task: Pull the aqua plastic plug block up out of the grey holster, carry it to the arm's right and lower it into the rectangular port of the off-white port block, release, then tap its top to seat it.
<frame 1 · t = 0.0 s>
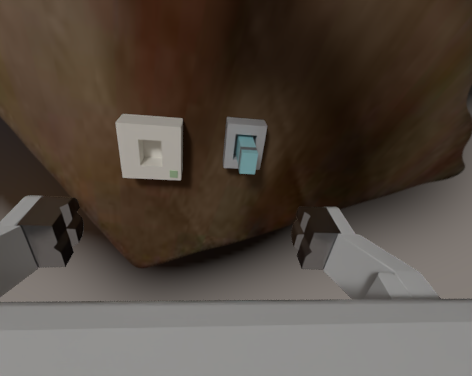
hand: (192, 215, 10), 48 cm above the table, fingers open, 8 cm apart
port block: (154, 143, 60), on the table
holster: (242, 140, 61), on the table
plug: (243, 142, 60), point 1 cm above the table, touching holster
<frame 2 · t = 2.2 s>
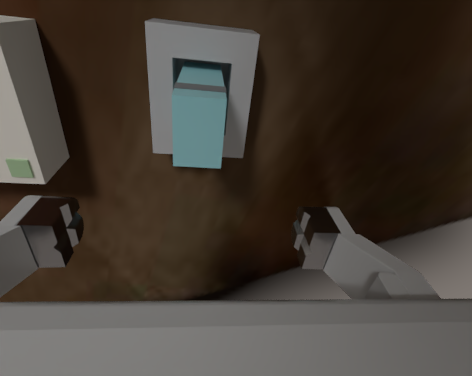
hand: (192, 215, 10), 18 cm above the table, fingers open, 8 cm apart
holster: (202, 87, 25), on the table
plug: (201, 89, 25), point 1 cm above the table, touching holster
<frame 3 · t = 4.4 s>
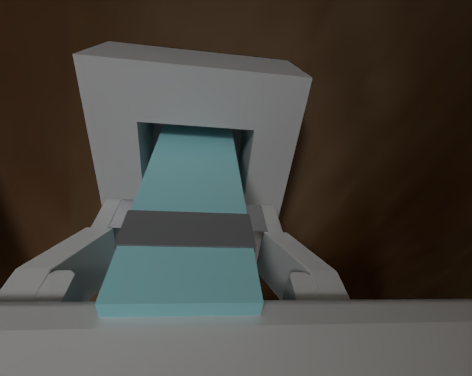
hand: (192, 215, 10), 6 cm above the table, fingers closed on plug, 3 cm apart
holster: (197, 151, 15), on the table
plug: (197, 158, 15), point 1 cm above the table, touching gripper, holster
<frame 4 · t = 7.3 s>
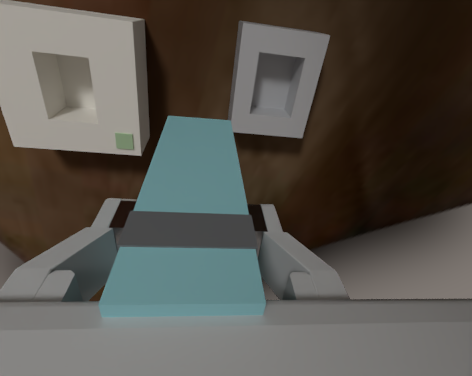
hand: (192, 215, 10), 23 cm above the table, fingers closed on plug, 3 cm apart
port block: (87, 77, 29), on the table
holster: (269, 78, 30), on the table
plug: (198, 158, 15), point 18 cm above the table, touching gripper
when the fingers open (7 cm above the table, at t = 10.6 s): plug stays where it is, resting on port block.
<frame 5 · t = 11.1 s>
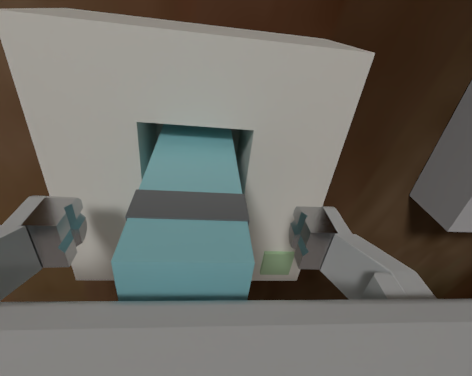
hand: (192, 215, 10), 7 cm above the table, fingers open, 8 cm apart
port block: (198, 142, 16), on the table
plug: (197, 150, 15), point 1 cm above the table, touching port block
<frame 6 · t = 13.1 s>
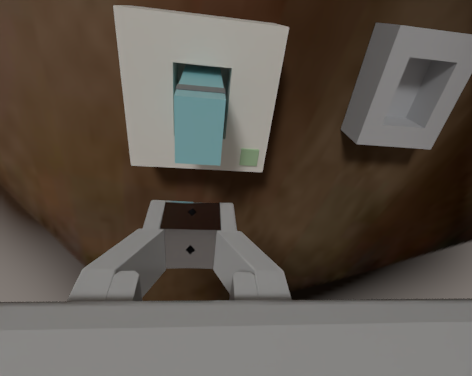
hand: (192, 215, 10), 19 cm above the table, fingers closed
port block: (202, 88, 26), on the table
holster: (393, 85, 28), on the table
plug: (202, 91, 26), point 1 cm above the table, touching port block
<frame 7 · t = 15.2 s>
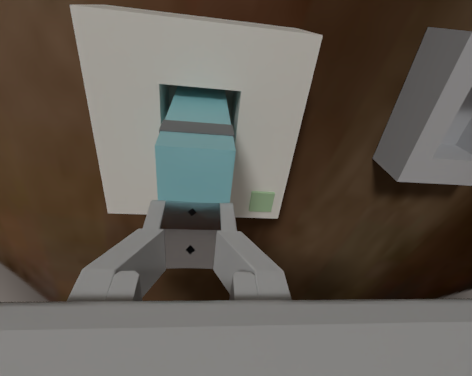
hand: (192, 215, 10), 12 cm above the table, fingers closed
port block: (201, 110, 21), on the table
holster: (443, 105, 22), on the table
plug: (200, 115, 20), point 1 cm above the table, touching port block
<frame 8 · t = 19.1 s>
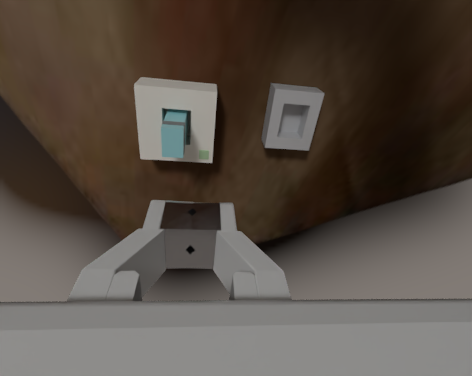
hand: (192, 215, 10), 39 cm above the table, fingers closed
port block: (179, 116, 48), on the table
holster: (287, 114, 49), on the table
plug: (178, 119, 47), point 1 cm above the table, touching port block
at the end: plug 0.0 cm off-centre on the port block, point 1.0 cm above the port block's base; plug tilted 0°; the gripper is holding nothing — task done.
